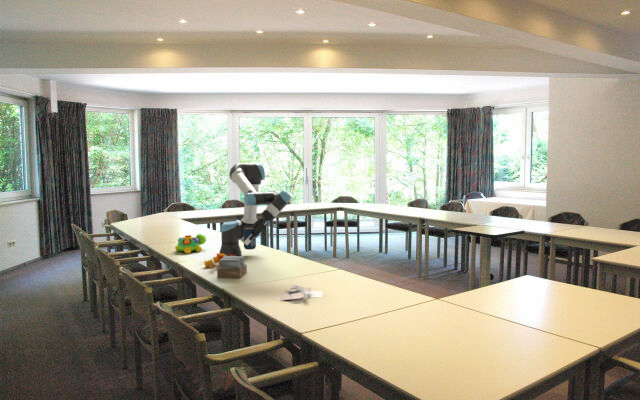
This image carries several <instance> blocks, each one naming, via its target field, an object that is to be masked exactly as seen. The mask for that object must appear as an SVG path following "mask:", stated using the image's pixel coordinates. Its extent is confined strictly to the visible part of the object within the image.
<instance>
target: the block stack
mask: <svg viewBox="0 0 640 400" xmlns="http://www.w3.org/2000/svg"><path fill="white" fill-rule="evenodd" d="M219 264H220V265H219ZM218 265H219V267H218V268H216V274H217V275H216V276H217V278H218V279H237V280H238V279H241V278H243V277H244V276H245V275H246V274H247V273H248V271H247V270H248V267H247V266H248V265H247V264H245V256H243V255H241V256H225V257H223V258H222V259H220V260H219V262H218Z"/></svg>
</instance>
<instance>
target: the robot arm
mask: <svg viewBox="0 0 640 400" xmlns="http://www.w3.org/2000/svg"><path fill="white" fill-rule="evenodd" d="M228 174H229V179H230V181H231V182H232V183H234V184H235V185H236V187H238V189H239V190H240V192H241V193H242V194H243V195H244V196H243V201H244V209H243V218H241V220H240V221H241V222H239V221H238V220H233V221H226V222H223V223H222V224H221V230H220V231H221V233H220V235H221V246H220V249H219V253H223V254H225V255H227V256H229V254H231V255H235V256H243V255H242V249H241V246H240V243H239V242H242V243H243V244H244V243H245V244H246V245H248V244H249V243H250V242H251V241H252V240H253V239H254V238H255V237H256V239H257V238H258V237H259V236H260V234H261V233H262V232H263V230H264V229H265V228H266V227H267V226H268V224H269V223H271V222H273V220H274V219H275V218H276V217H278V215H280V212H281V211H282V210H284V208H285V207H286V206H288V204H289V203H290V201H291V200H292V196H291V194H289V193H288V192H287V191H285V190H281V191H280V192H277V191H274V190H270V191H265V192H261V191H260V192H259V186H260V185H261V183H262V181H264V180H265V177H266V175H265V174H266V173H265V169H264V166H263V165H262V163H260V162H259V163H258V162H238V163H236V164H234V165H233V166H232V167H231V168H230V170H229V173H228ZM264 205H267V206H266V208H265V209H264V210H263V211H262V212H261V217H260V218H257V212H258V211H257V210H258V206H264ZM249 227H252V228H254V229H255V231H254V232H252V233H251V235H250V236H249V237H248V238H247V239H246V240H245V241H244V232H243V231H244V228H249Z"/></svg>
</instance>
